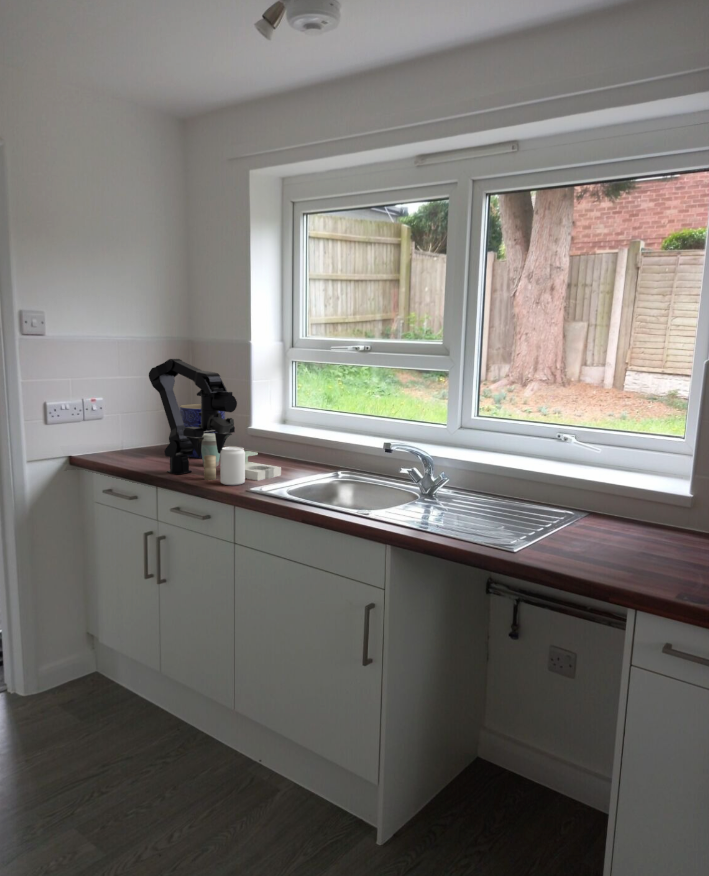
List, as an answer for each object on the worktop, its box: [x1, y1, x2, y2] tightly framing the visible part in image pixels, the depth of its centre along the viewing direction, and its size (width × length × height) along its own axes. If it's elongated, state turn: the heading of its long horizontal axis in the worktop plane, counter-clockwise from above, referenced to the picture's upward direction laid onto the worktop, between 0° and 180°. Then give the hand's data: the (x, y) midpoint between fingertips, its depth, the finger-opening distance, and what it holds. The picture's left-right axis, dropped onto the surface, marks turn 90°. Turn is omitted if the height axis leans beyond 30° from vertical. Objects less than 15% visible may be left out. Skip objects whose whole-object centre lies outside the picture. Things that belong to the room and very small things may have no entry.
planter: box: [178, 403, 226, 459], centre depth 279 cm, size 18×18×21 cm
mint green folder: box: [244, 450, 258, 462], centre depth 249 cm, size 6×10×7 cm, turn 144°
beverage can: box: [219, 446, 246, 486], centre depth 229 cm, size 8×8×12 cm
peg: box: [203, 455, 217, 481], centre depth 236 cm, size 4×4×8 cm
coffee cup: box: [201, 433, 220, 468], centre depth 259 cm, size 8×9×12 cm
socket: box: [245, 461, 282, 482], centre depth 244 cm, size 17×12×3 cm
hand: (209, 454), depth 235 cm, fingers open, 9 cm apart
